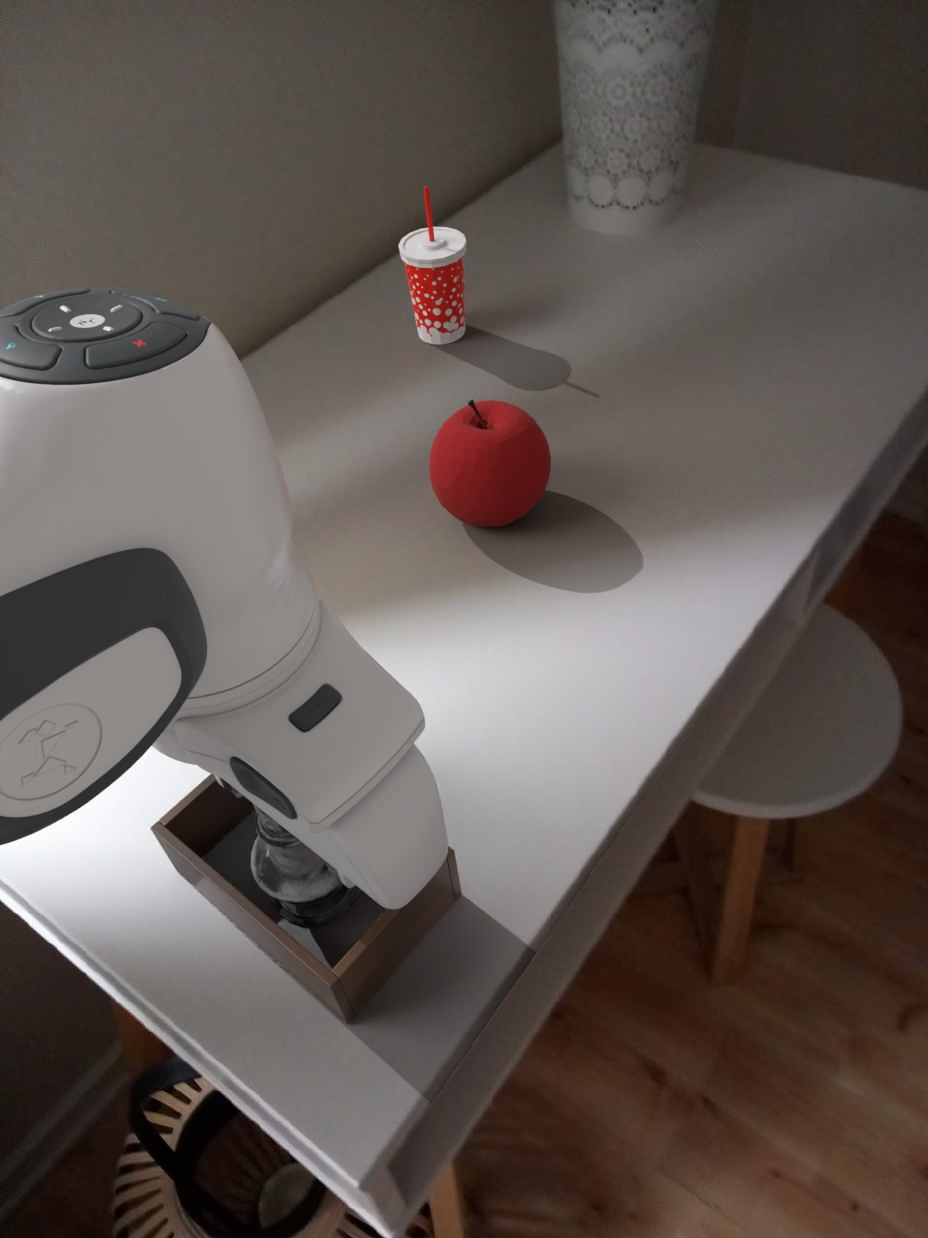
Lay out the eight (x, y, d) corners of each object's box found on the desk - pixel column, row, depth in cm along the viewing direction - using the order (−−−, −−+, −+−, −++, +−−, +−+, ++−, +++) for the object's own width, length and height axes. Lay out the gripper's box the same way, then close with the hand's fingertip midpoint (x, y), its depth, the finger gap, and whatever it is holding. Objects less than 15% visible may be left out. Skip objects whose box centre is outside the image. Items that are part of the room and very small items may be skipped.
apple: (494, 564, 72) (486, 457, 64) (410, 513, 76) (393, 407, 69) (574, 500, 76) (575, 392, 69) (490, 455, 81) (482, 349, 73)
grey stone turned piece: (380, 847, 57) (346, 727, 48) (346, 942, 53) (302, 830, 44) (288, 827, 58) (238, 707, 49) (248, 918, 55) (187, 805, 46)
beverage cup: (472, 347, 91) (460, 200, 81) (408, 350, 92) (388, 205, 82) (473, 312, 96) (462, 168, 85) (412, 316, 96) (393, 173, 86)
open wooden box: (347, 1025, 50) (330, 987, 46) (176, 871, 57) (149, 827, 53) (462, 894, 55) (454, 850, 51) (290, 765, 61) (272, 718, 58)
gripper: (25, 596, 44) (127, 765, 54) (341, 841, 34) (393, 990, 45) (136, 519, 47) (213, 693, 57) (455, 725, 37) (479, 889, 48)
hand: (294, 825), depth 51 cm, fingers open, 7 cm apart
